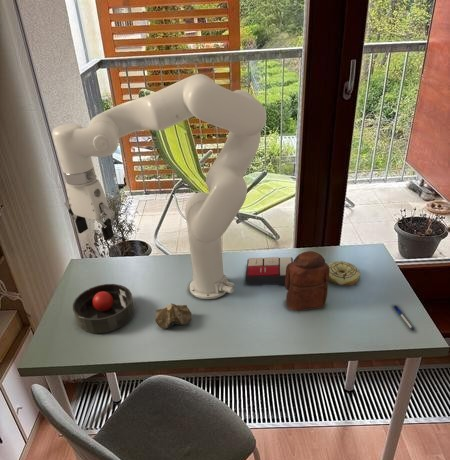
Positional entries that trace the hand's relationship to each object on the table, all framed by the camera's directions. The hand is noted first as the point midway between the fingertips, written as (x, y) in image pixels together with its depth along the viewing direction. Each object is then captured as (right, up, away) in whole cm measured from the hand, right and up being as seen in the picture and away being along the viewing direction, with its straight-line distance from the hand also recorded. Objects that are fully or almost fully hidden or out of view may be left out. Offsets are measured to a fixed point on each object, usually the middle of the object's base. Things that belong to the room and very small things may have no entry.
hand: (96, 234), depth 120 cm
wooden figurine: (+59, -20, +9) cm, 63 cm away
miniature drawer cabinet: (+50, -11, +22) cm, 56 cm away
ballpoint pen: (+86, -24, +2) cm, 89 cm away
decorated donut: (+73, -12, +19) cm, 76 cm away
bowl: (0, -23, +10) cm, 25 cm away
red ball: (-1, -19, +10) cm, 21 cm away
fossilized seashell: (+21, -25, +6) cm, 33 cm away
